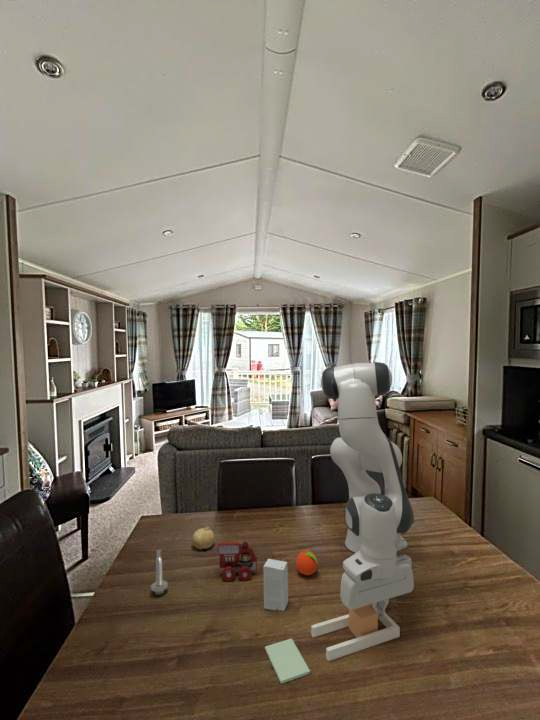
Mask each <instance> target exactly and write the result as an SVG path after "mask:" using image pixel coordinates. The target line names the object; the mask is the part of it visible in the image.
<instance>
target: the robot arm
mask: <svg viewBox="0 0 540 720" xmlns="http://www.w3.org/2000/svg"><path fill="white" fill-rule="evenodd" d="M392 384H393V374H392V372H391V370H390V369H389V366H388V365H387V364H386V363H385V362H378V361H377V362H376V361H375V362H357V363H356V362H354V363H349V364H343V365H338V366H330V367H325V369H324V370H323V371H322V374H321V376H320V387H321V390H322V391H323V394H324V396H325V397H327V399H330V400H333V401H334V402H338V403H337V417H338V419H337V421H338V430H339V435H340V437H336V438H335V439H334V440H333V441H332V443H331V445H330V448H329V449H330V450H329V452H330V457H331V460H332V461H333V462H334V463H335V464H336V465H337V467H339V468H340V470H341V471H342V473H343V474H344V477H345V480H346V482H347V486H348V496H349V497H348V500H347V502H346V503H345V506H344V522H345V523H344V524H345V525H346V527H347V532H346V537H345V541H344V545H345V547H346V548H347V549H348V550H350V551H351V552H353V553H354V554H352V555H351V556H349V557H348V558H346V559H344V560H343V562H342V568H343V569H344V572H343V574H342V576H341V580H340V590H339V591H340V592H339V593H340V600H341V602H342V604H343V605H344V606H345V607H346V608H347V609H348V611H349V610H353V609H356V608H360V607H363V606H366V605H370V606H371V607H372V608H373V609H374V610H375V611H376V612H377V613H378V617H380V616H383V615H385V613H386V609H387V606H388V604H389V602H390V599H392V598H396V597H400V596H402V595H406V594H409V593H412V592H413V590H414V587H415V583H414V581H415V580H414V572H413V569H412V563H413V562H412V558H411V557H410V556H409V555H407V554H401V555H397V553H398V552H399V551H402V550H403V549H404V550H405V549H407V548H408V542H407V540H406V538H404V537H402V536H401V534H403V535H404V534H405V533H407V532H408V531H409V530H410V528H411V527H412V525H413V524H414V522H415V515H414V510H413V507H412V505H411V504H412V503H411V502H410V499H409V496H408V494H407V491H406V488H405V483H404V479H403V476H402V472H401V468H400V467H402V466H401V465H402V464H403V463H402V462H403V455H402V451H401V449H400V448H399V446H398V445H397V444H396V443H394V442H393V441H391V439H390V438H389V437H388V436H387V435H386V434H385V433H384V432H383V430H382V428H381V426H380V423H379V418H378V412H377V403H376V397H375V396H378V397H380V396H383V395H384V396H385V395H386V394H388V393H389V392H390V391H391V388H392ZM337 400H338V401H337ZM367 471H369V472H375V473H381V474H382V476H383V479H384V483H385V486H386V490H387V493H386V494H382V491H381V487H380V485H379V484H378V482H377V481H376V480H374V479H373V478H372V477H371V476H370V475H369V474H368V473H367Z"/></svg>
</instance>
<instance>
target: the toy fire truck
mask: <svg viewBox="0 0 540 720" xmlns="http://www.w3.org/2000/svg"><path fill="white" fill-rule="evenodd" d="M217 552H218V554H219V572H221V578H222V579H223V581H226V582H231V581H234V579H235V577H236V572H238V578H239V579H240V580H241V581H243V582H245V581H246V582H247V581H249V580H250V579H251V577H252V572H255V571H257V569H258V557H257V555H256V553H255V551H254V549H253V548H252V546H249V543H248V541H245V540H244V541H243V542H242V543H241V542H239V541H238V542H236V541H235V542H233V541H231V542H219V543H218V545H217Z"/></svg>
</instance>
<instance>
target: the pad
mask: <svg viewBox="0 0 540 720" xmlns="http://www.w3.org/2000/svg"><path fill="white" fill-rule="evenodd" d="M264 651H266V654H267V657H268V658H269V660H270V663H271V665H272V668H273V670H274V671H275V674H276V676H277V678H278V680H279V683H280V685H281V684H285V683H287V682H290V681H293V680H295V679H296V680H297V679H299V678H302V677H304V676H307V675H310V674H312V672H311V670H310V669H309V667H308V664H307V662H306V661H305V659H304V658H303V655H302V653H300V650H299V648H298V647H297V644H296V643H295V641H294V640H293V638H292V637H291V638H289V639H286V640H281V641H279V642H275V643H273V644H269V645H266V646H264Z"/></svg>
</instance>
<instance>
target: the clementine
mask: <svg viewBox="0 0 540 720" xmlns="http://www.w3.org/2000/svg"><path fill="white" fill-rule="evenodd" d="M295 559H296V560H295V565H296V568H297V571H299V573H301V574H302V575H304V576H312V575H313V574H314V573H315V572H316V570H317V569H318V566H319V563H318V558H317V556H316V555H315V554H314V552H312V551H311V550H302V551H301V552H299V554H298V555H297V557H296V558H295Z"/></svg>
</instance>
